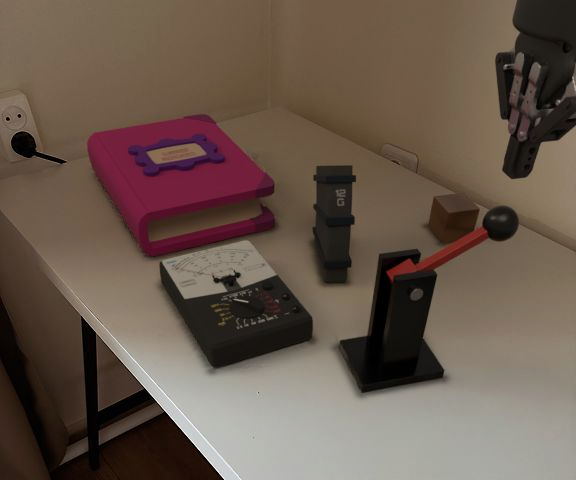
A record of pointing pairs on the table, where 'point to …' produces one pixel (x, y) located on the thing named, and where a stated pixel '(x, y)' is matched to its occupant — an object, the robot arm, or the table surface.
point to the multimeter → (234, 302)
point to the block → (453, 216)
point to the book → (181, 183)
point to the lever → (467, 241)
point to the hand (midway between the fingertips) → (514, 174)
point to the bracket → (395, 329)
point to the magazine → (333, 220)
